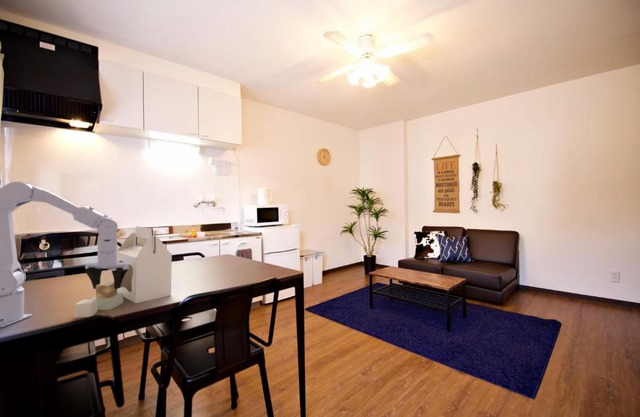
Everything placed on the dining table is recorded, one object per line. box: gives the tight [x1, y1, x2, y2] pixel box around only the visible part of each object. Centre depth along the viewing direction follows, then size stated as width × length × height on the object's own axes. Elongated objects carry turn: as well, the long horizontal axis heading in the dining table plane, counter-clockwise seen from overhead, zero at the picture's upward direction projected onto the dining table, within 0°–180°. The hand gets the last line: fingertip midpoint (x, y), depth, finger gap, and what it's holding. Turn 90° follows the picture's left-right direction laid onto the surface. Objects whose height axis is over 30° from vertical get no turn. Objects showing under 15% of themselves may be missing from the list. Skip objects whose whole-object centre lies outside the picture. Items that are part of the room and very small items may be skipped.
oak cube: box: [95, 281, 117, 298], centre depth 104 cm, size 4×4×4 cm
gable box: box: [117, 225, 173, 304], centre depth 119 cm, size 22×13×28 cm, turn 52°
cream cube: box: [74, 298, 98, 319], centre depth 96 cm, size 4×4×4 cm
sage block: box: [90, 293, 124, 311], centre depth 104 cm, size 7×7×4 cm
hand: (107, 288), depth 104 cm, fingers open, 7 cm apart
